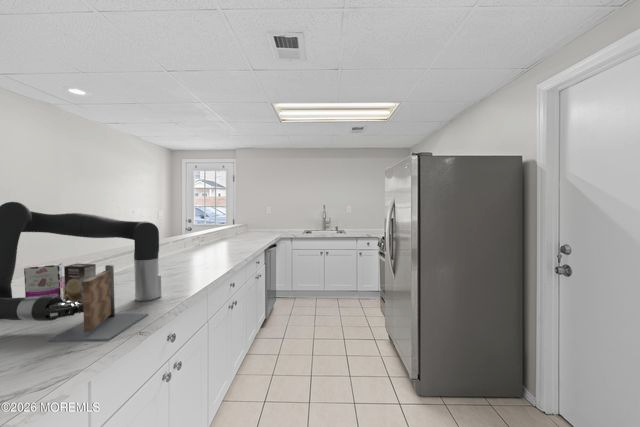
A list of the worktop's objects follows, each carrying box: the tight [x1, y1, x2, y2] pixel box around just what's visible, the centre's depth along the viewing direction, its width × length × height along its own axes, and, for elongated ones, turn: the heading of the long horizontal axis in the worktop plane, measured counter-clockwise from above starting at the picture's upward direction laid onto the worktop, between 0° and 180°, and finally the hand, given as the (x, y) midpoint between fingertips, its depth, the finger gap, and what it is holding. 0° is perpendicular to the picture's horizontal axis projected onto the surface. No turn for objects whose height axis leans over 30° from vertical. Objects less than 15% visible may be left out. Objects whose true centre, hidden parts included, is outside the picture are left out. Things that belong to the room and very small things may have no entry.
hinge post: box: [104, 264, 116, 318], centre depth 114 cm, size 2×2×19 cm
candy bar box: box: [23, 263, 65, 301], centre depth 130 cm, size 11×5×16 cm, turn 117°
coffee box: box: [63, 263, 97, 302], centre depth 131 cm, size 9×6×16 cm
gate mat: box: [47, 313, 149, 342], centre depth 106 cm, size 22×18×1 cm
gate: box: [81, 270, 111, 332], centre depth 104 cm, size 16×2×15 cm, turn 14°
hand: (93, 308), depth 103 cm, fingers closed
